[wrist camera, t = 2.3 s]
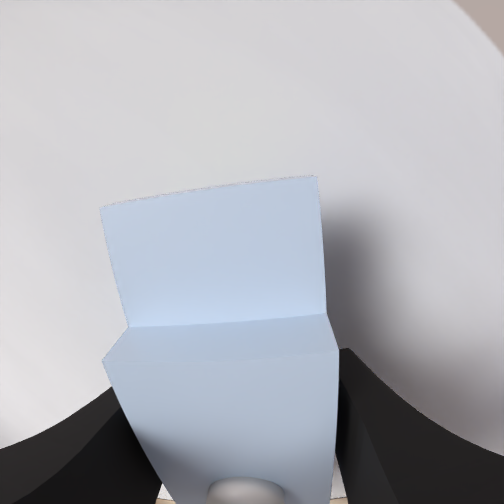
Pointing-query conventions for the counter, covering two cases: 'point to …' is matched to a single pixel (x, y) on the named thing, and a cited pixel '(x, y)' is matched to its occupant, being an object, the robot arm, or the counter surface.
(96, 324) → the counter surface
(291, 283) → the block
